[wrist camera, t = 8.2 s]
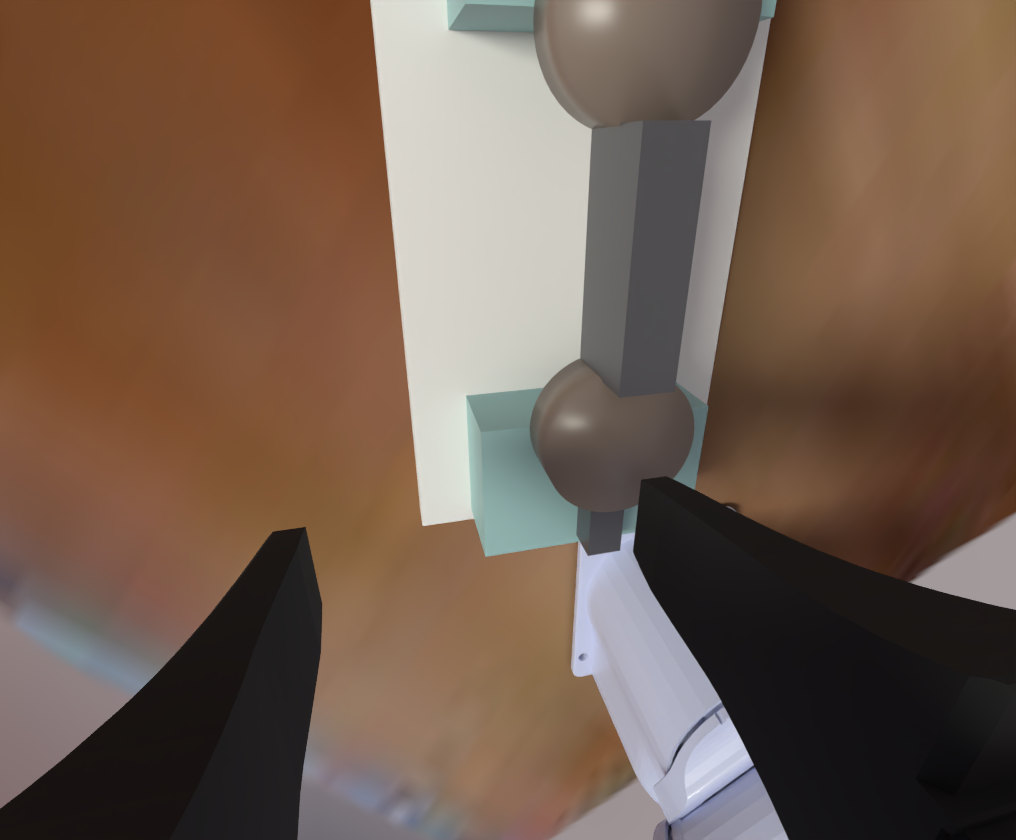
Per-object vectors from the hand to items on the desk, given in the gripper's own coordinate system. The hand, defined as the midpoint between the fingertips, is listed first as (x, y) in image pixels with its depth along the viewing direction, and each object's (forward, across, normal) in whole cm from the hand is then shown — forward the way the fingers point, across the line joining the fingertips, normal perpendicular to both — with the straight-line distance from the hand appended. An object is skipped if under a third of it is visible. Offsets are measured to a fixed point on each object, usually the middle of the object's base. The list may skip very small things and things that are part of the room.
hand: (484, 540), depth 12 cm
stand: (+10, -5, -5) cm, 12 cm away
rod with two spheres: (+6, -5, -5) cm, 9 cm away
